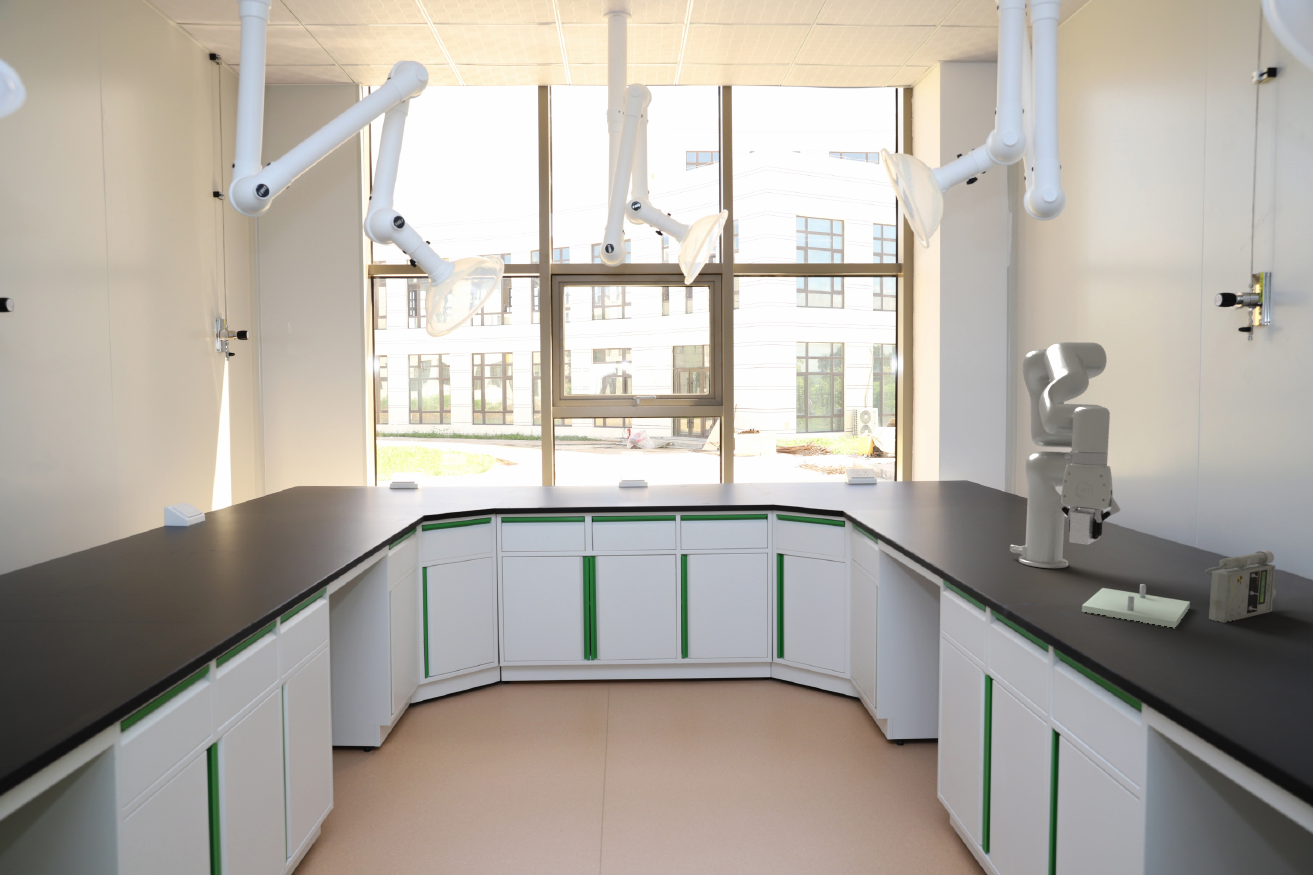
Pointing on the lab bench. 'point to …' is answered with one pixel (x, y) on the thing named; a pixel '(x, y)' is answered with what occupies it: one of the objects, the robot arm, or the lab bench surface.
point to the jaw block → (1082, 526)
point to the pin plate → (1137, 607)
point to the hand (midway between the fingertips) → (1085, 536)
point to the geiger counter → (1242, 587)
